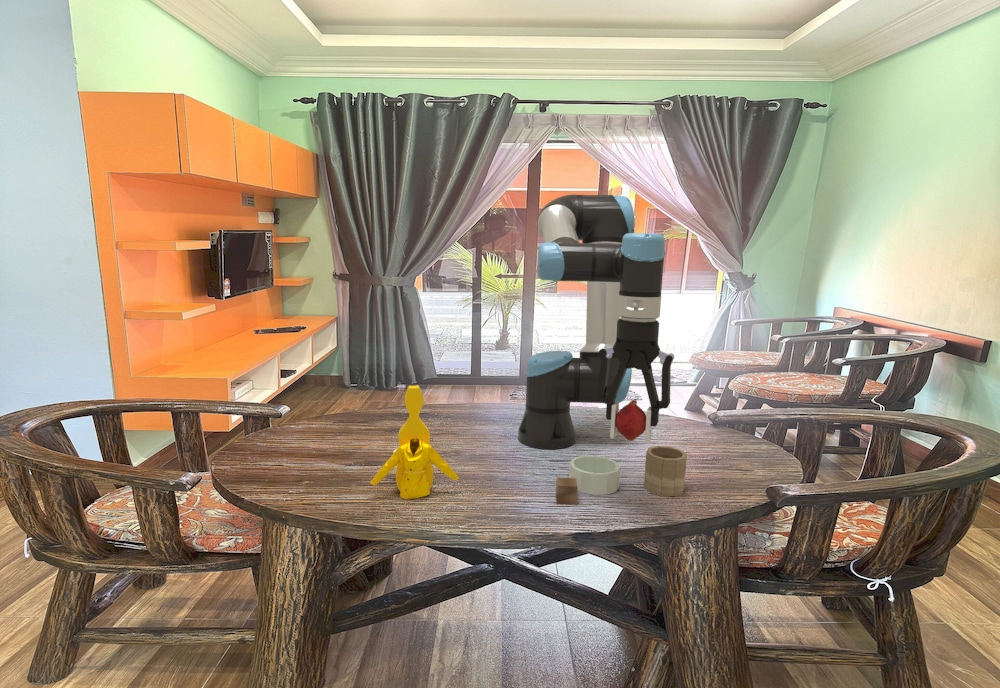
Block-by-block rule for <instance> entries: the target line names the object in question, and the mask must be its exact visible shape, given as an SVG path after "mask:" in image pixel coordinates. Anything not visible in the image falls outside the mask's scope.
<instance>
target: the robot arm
mask: <svg viewBox="0 0 1000 688" xmlns="http://www.w3.org/2000/svg"><path fill="white" fill-rule="evenodd" d="M536 220H537V223H536V224H537V230H538V233H539V234H540V236H541V238H543V242H542V243H540V244H539V245H538V250H537V277H538V279H540V280H542V281H551V282H555V283H556V282H585V283H587V284H586V321H585V322H586V323H585V324H586V325H585V329H586V330H585V345H584V346H583V347H582V348H581V349H580V350H579V357H574V356H573V353H572V352H570V351H567V350H549V351H543V352H539V353H535V354H533V355H531V356H530V357H529V358H528V359H527V364H526V372H525V376H526V388H525V389H526V390H525V411H524V413H523V416H522V419H521V421H520V424H519V427H518V432H517V437H518V439H517V440H518V441H519V442H520V443H522V444H523V445H526V446H528V447H531V448H535V449H536V448H537V449H545V450H551V449H552V450H556V449H564V448H567V447H570V446H572V445H574V444H575V442H576V430H575V427H574V423H573V421H572V420H573V419H572V416H571V411H570V410H571V408H570V407H571V403H583V404H586V403H588V404H589V403H590V404H605V405H606V408H605V409H606V411H605V419H606V420H610V433H609V439H615V438H616V437H617V436H618V429H617V427H616V416H617V414H618V412H619V411H620V409H619V408H620V403H622V402H623V401H624V400H626V398H627V396H628V393H629V390H630V387H631V382H632V381H631V380H632V375H633V374H632V373H633V369H635V370H640V371H641V374H642V376H643V379H644V384H645V388H646V393H647V397H648V401H649V404H650V406H648V407H647V409H646V414H645V415H646V430H645V431H644V445H649V444H650V443H651V441H652V435H653V434H652V431H653V427H657V425H658V424H659V419H660V418H659V415H660V410H661V409H667V408H668V407H669V406H670V404H671V379H672V378H671V373H672V372H671V371H672V370H671V368H672V367H671V366H672V364H673V361H674V359H675V355H674V354H673V353H667V352H665V351H662V350H661V348H660V346H659V331H660V330H659V329H660V322H659V320H657V319H659V318H660V316H661V306H662V305H661V304H662V303H661V302H662V290H663V289H662V287H663V275H664V262H665V256H666V250H665V248H666V247H665V245H666V244H665V241H666V239H665V236H664V235H663V234H661V233H649V232H647V233H646V232H643V233H642V232H635V227H636V223H635V221H636V220H635V212H634V207H633V204H632V201H631V200H630V198H628V197H627V196H624V195H614V194H573V193H572V194H565V195H562V196H559V197H556V198H554V199H553V200H551V201H549V202H547V204H545V205H544V206H543V207H542V209H541V210H540V212H539V214H538V215H537V219H536ZM580 241H581V242H580ZM657 357H658V358H659V363H660V364H661V365H662V367H661V397H660V399H661V400H660V399H659V395H658V390H657V387H656V381H655V378H654V374H653V366H652V363H653V362H654V361H655V360H656V358H657Z"/></svg>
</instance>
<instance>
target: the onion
mask: <svg viewBox="0 0 1000 688" xmlns="http://www.w3.org/2000/svg"><path fill="white" fill-rule="evenodd" d="M637 404H638V401H637V400H636V399H632V400H630V402H629V403H628V404H625V405H624V406H623V407H622V408H621V409H619V412H618V414H617V416H616V427H617V432H618V433H619V434H620V435H621V436H622V437H623V438H625V439H626V440H627V441H630V442H631V441H632V442H633V441H634V440H636V439H637V438H639V437H641V436H642V435H643V434H645V430H646V415H647V414H646V413H645V412H644V410H643V409H642V408H641V407H639V405H637Z"/></svg>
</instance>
